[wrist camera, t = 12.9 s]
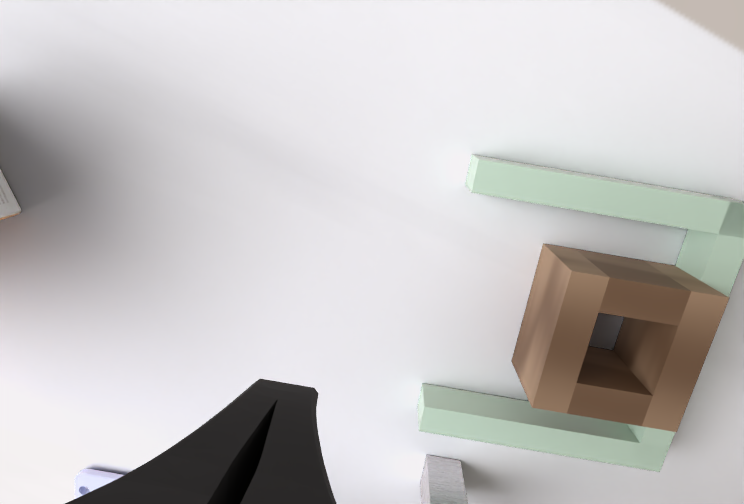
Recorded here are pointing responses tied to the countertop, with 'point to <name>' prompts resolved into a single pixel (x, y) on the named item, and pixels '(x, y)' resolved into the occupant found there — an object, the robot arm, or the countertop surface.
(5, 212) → the small box
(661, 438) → the green u-shaped bracket
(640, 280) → the walnut block
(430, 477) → the grey upright post
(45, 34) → the countertop surface
